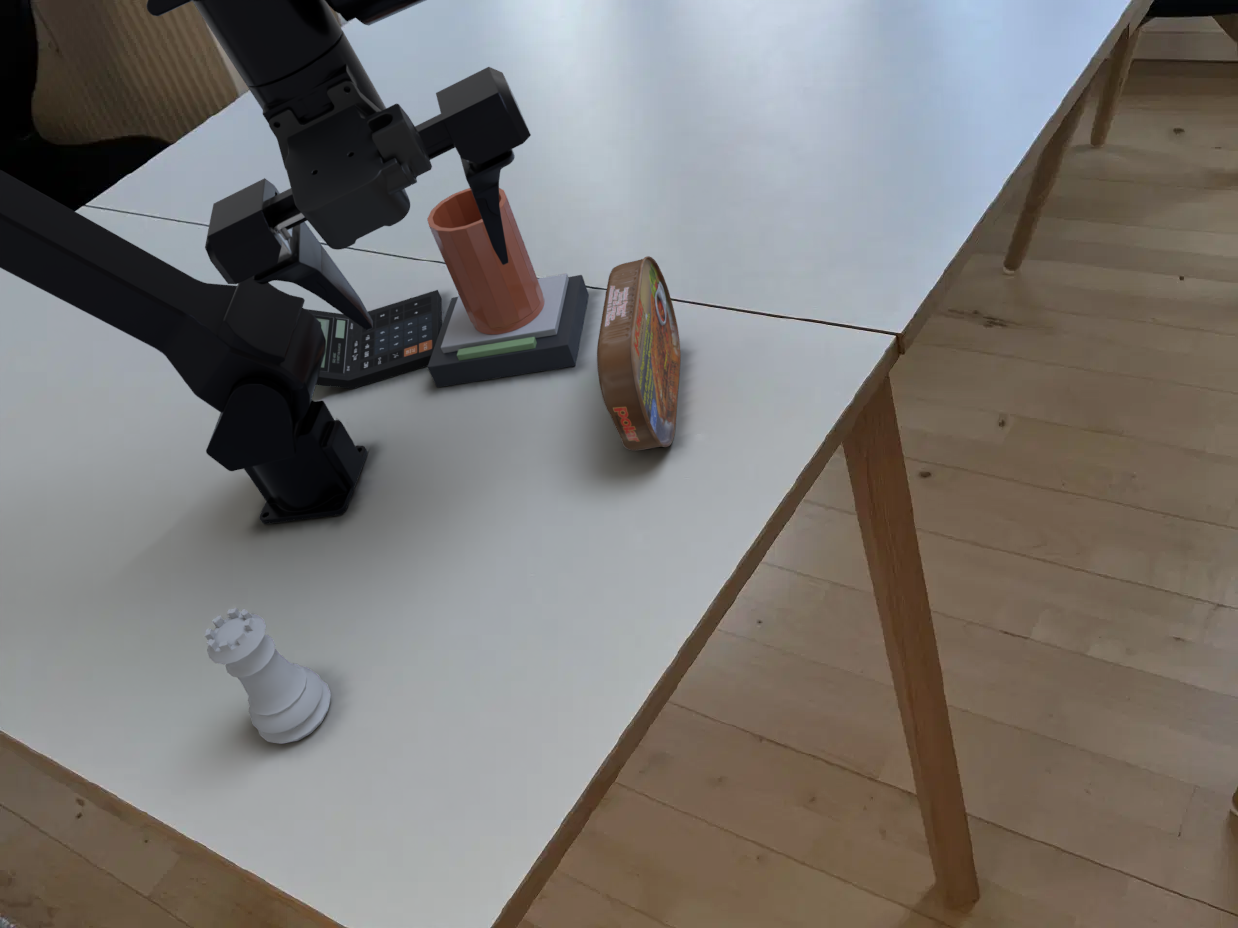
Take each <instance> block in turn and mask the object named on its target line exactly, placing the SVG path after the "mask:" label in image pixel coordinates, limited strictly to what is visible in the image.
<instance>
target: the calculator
mask: <svg viewBox="0 0 1238 928" xmlns="http://www.w3.org/2000/svg"><path fill="white" fill-rule="evenodd" d="M442 303H443V302H442V296H441V294H440V292H439V289H436V290H433V291H429V292H426V293H423V294H419V295H417V296H414V297H410V298H407V299H404V300H400V301H396V302H394V303H390V304H387V305H384V306H382V307H381V306H380V307H377V308H375V309H371V310H367V311H368V313H369V315H370V317H371V319H372V321H373V328H372V329H370V330H365V329H364V328H363V327H361V326H360V325H358V324H357V323H355V322H354V321H353V320H351V319H350V318H348V317H347V316H345V315H344V314H343V313H338V312H331V311H323V310H317V309H316V310H315V309H307V308H305V309H306V310H307V311H309V312H310V313H311V314H312V315H314V316H315V317H316V318H317V320H318V321H319V322H320V323H321V325H322V326H321V329H322V331H323V333H324V336H325V339H326V352H325V355H324V359H323V362H322V365H321V369H320V372H319V376H318V379H317V383H316V386H321V387H330V388H342V389H349V390H350V389H352V390H355V389H358V388H360V387H363V386H367V385H371V384H373V383H376V382H380V381H383V380H386V379H389V378H393V377H396V376H399V375H403V374H407V373H409V372H412V371H413V372H414V371H415V370H419V369H423V368H425V367H428V364H429V361H430V358H431V356H432V353H433V350H434V347H435V344H436V341H437V338H438V336H439V333H440V330H441V327H442V324H443V309H442V308H443V305H442Z"/></svg>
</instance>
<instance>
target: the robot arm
mask: <svg viewBox="0 0 1238 928" xmlns="http://www.w3.org/2000/svg"><path fill="white" fill-rule="evenodd" d="M426 1H427V0H147V2H146V5H145V6H146V11H147V12H148V13H149V14H150V15H151V16H154V17H161V16H163V15H165V14H167V13H170V12H171V11H173V10H176V9H178V8H180V7H182V6H184V5H187V4H188V3H191V2H192V3H193V5H194V6H195V8H196V10H197V11H198V12H199V14H200V15H201V17H202V19H203V20H204V22H205V23H206V25H207V26H208V29H210V31H211V32H212V34H213V35H214V36H213V37H215V39H216V40H217V42H218V44H219V45H220V47H221V48H222V50H223V51H224V53H225V55H226V56H227V57H228V59H229V60H230V62H231V63H232V65H233V66H234V68H235V70H236V71H237V73H238V74H239V76H240V77H241V79H242V81H243V82H244V83H245V85H246V86H247V89H248V90H249V91H250V93H251V94H252V96H253V97H254V99H255V101H256V102H257V104H258V105H259V107H260V108H261V110H262V116H263V117H264V119H265V120H266V122H267V124H268V127H269V128H270V131H271V132H272V133H273V135H274V136H275V138H276V141H277V144H278V148H279V152H280V155H281V158H282V164H283V167H284V169H285V171H286V174H287V178H288V182H289V185H290V188H288V189H286V190H283V191H282V192H280V191H279V190H278V189H277V187H276V186H275V184H274V183H272V182H271V181H270V180H268V179H267V178H265V177H264V178H262V179H260V180H258V181H256V182H254V183H252V184H250V185H248V186H245V187H244V188H242V189H240V190H238V191H236V192H234V193H231V194H230V195H228V196H226V197H224V198H222V199H220V200H218V201H215V202H213V205H212V209H211V215H210V218H209V224H208V229H207V234H206V239H205V240H206V241H205V245H204V249H205V251H206V254H207V256H208V258H209V261H210V262H211V264H212V265H213V266H214V268H215V269H216V270H217V271H218V273H219V274H220V276H221V277H222V279H224V281H225V282H226V284H221V283H220V284H219V283H207V282H204V281H202V280H199V279H197V278H194V277H193V276H191V275H190V274H187V273H185V272H184V271H182V270H180V269H179V268H176V267H175V266H173V265H171V264H170V263H168V262H166V261H164V260H162V259H161V258H158V257H157V256H156V255H153V254H152V253H150V252H148V251H147V250H144V249H143V248H141V247H139V246H138V245H136V244H134V243H132V242H130V241H129V240H127V239H125V238H123V237H121V236H120V235H117V234H116V233H115V232H112V231H111V230H109V229H107V228H106V227H103V226H102V225H100V224H98V223H96V222H94V221H93V220H91V219H90V218H88V217H85V216H83V215H82V214H81V213H79V212H76V211H75V210H73V209H71V208H69V207H68V206H66V205H64V204H62V203H60V202H59V201H57V200H55V199H54V198H52V197H51V196H48V195H46V194H45V193H42V192H41V191H39V190H37V189H36V188H34V187H32V186H30V185H29V184H27V183H24V182H23V181H21V180H19V179H17V178H16V177H14V176H12V175H10V174H9V173H7V172H5V171H3V170H1V169H0V269H1V270H3V271H6V272H7V273H9V274H11V275H13V276H15V277H16V278H19V279H20V280H22V281H25V282H26V283H28V284H31V285H32V286H35V287H36V288H38V289H40V290H41V291H44V292H45V293H47V294H50V295H52V296H53V297H55V298H57V299H59V300H61V301H63V302H65V303H67V304H69V305H71V306H72V307H75V308H76V309H78V310H81V312H84V313H86V314H88V315H90V316H91V317H94V318H96V319H97V320H99V321H101V322H103V323H105V324H107V325H109V326H111V327H113V328H114V329H117V330H119V331H120V332H123V333H125V334H127V335H128V336H130V337H132V338H135V339H136V340H138V341H140V342H142V343H143V344H145V345H148V346H150V347H152V348H153V349H155V350H157V351H158V352H159V353H161V354H163V356H165V358H166V359H167V360H168V362H169V363H170V364H171V365H172V367H173V368H174V369H175V371H176V372H177V373H178V375H179V376H180V378H181V379H182V380H183V382H185V384H186V385H187V387H188V388H189V389H190V391H191V392H192V393H193V394H194V395H195V396H196V397H197V398H198V399H200V400H202V401H203V402H204V403H206V404H207V405H209V406H210V407H211V408H213V409H215V410H216V411H218V412H219V416H218V418H217V421H216V424H215V427H214V429H213V430H212V435H211V437H210V439H209V442H208V444H207V447H206V450H205V452H206V454H207V455H208V456H209V457H210V458H211V459H213V460H214V461H215V462H217V464H219V465H220V466H222V467H223V468H224V469H226V470H227V471H228V472H236V471H240V470H244V472H245V473H246V475H247V476H248V477H249V478H250V481H251V482H252V483H253V485H254V486H255V487H256V489H257V490H258V492H259V494H261V496H262V498H263V499H264V501H265V503H264V504H263V507H262V509H261V511H260V513H259V516H258V519H259V521H260V522H261V523H262V524H263V525H270V524H271V525H272V524H277V523H278V524H279V523H285V522H286V523H287V522H293V521H301V520H302V521H303V520H309V519H310V520H311V519H316V518H326V517H332V516H339V515H342V514H344V513H345V512H346V511H347V509H348V507H349V503H350V501H351V499H352V496H353V493H354V490H355V487H356V485H357V483H358V480H359V477H360V475H361V472H362V469H363V467H364V464H365V461H366V459H367V456H368V454H369V452H368V450H367V448H366V446H365V445H355V442H354V441H353V439H352V437H351V436H350V434H349V432H348V430H347V429H346V428H345V426H344V424H343V422H342V421H341V420H340V419H335V418H334V417H333V415H332V413H331V411H330V410H329V408H328V406H327V404H326V403H325V401H324V400H315V401H314V400H313V396H314V392H315V390H316V386H317V385H316V383H317V379H318V376H319V372H320V369H321V365H322V362H323V359H324V355H325V352H326V339H325V336H324V333H323V331H322V329H321V326H322V325H321V323H320V322H319V321H318V320H317V318H316V317H315V316H314V315H312V314H311V313H310V312H309V311H307V310H306V309H307V308H304V304H305V301H306V300H305V298H304V297H301V296H297V295H292V294H289V293H287V292H284V291H283V290H280V289H278V288H277V287H275V286H274V285H273V284H271V283H270V282H274V281H279V282H285V283H292V284H295V285H297V286H299V287H301V288H302V289H304V290H306V291H308V292H310V293H312V294H313V295H315V296H316V297H318V298H320V299H321V300H323V301H324V302H325V303H327V304H329V306H331V307H332V308H334V309H336V310H337V311H338V312H340V314H344V315H345V316H347V317H348V318H350V319H351V320H353V321H354V322H355V323H357V324H358V325H360V326H361V327H363V328H364V329H365V330H370V329H372V328H373V321H372V319H371V317H370V315H369V313H368V311H369V310H368V309H367V308H366V305H365V304H364V302H363V300H362V299H361V297H360V295H359V294H358V293H357V292H356V290H355V289H354V287H353V286H352V285H351V283H350V282H349V281H348V279H347V278H346V277H345V275H344V273H342V271H341V269H340V268H339V267H338V266H337V264H336V262H335V261H334V260H333V259H332V257H331V256H330V255H329V253H328V252H327V250H326V249H325V248H324V247H323V245H322V243H321V241H319V239H318V238H317V237H316V235H315V234H314V232H313V231H312V230H311V229H310V227H309V225H308V224H307V223H306V222H308V223H309V224H310V226H311V227H312V228H313V229H314V230H315V232H316V233H317V234H318V235H319V237H320V238H321V239H322V240H323V241H324V242H325V244H326V245H327V246H328V247H329V248H330V249H332V250H336V251H338V250H344V249H347V248H349V247H351V246H353V245H355V244H356V241H357V240H359V239H361V238H363V237H365V236H367V235H368V234H370V233H372V232H374V231H377V230H379V229H381V228H383V227H392V226H394V225H396V224H398V223H400V222H401V221H403V219H405V218H406V216H407V215H408V214H409V212H410V209H411V201H410V198H409V195H408V193H407V191H406V189H407V188H409V187H410V186H412V185H415V184H417V183H418V179H417V178H418V177H419V176H421V175H423V174H425V173H427V172H429V171H431V170H432V169H433V165H432V163H431V160H433V159H435V158H437V157H439V156H442V155H443V154H445V153H447V152H449V151H451V150H454V149H455V150H456V152H457V154H458V155H459V158H460V162H461V165H462V168H463V173H464V177H465V179H466V182H467V185H468V186H469V187H468V188H470V189H471V191H472V193H473V196H474V199H475V201H476V204H477V207H478V209H479V212H480V215H481V217H482V220H483V223H484V225H485V228H486V231H487V233H488V236H489V239H490V241H491V244H492V247H493V249H494V251H495V252H496V254H497V256H498V258H499V259H500V261H501V263H502V264H503V265H505V264H507V263H508V262H509V261H508V255H507V249H506V243H505V237H504V231H503V225H502V219H501V212H500V205H499V188H500V177H501V171H502V169H503V168H505V167H507V166H509V165H511V164H512V163H513V162H514V161H515V157H516V156H515V155H516V154H515V152H514V150H513V149H515V148H517V147H519V146H521V145H523V144H524V143H525V142H526V141H527V140H529V138H530V137H531V136H532V135H531V132H530V130H529V127H528V125H527V123H526V120H525V117H524V115H523V113H522V111H521V108H520V105H519V103H518V102H517V99H516V97H515V95H514V93H513V91H512V88H511V87H510V85H509V83H508V81H507V79H506V77H505V75H504V72H502V71H500V70H497V69H496V68H493V67H491V66H486V67H485V68H483V69H481V70H479V71H477V72H476V73H473V74H471V75H468V76H467V77H465V78H463V79H461V80H459V81H456V82H455V83H453V84H451V85H449V86H446V87H445V88H443V89H441V90H439V91H437V92H435V95H436V96H435V97H436V100H437V103H438V107H439V111H440V113H439V114H437V115H435V116H433V117H431V118H429V119H426V120H425V121H423V122H421V123H419V124H417V125H415V124H414V122H413V121H412V119H411V118H410V116H409V115H408V114H407V112H406V111H405V110H404V109H403V108H402V106H401V105H400V104H399V103H395V104H392V105H390V106H388V107H387V106H386V104H385V103H384V101H383V100H382V98H381V96H380V94H379V92H378V91H377V89H376V87H375V85H374V83H373V81H372V80H371V78H370V76H369V74H368V73H367V70H366V69H365V68H364V65H363V64H362V61H360V58H359V57H358V55H357V53H356V51H355V50H354V48H353V46H352V45H351V42H350V41H349V39H348V37H347V36H346V34H345V32H344V30H343V28H342V27H341V25H340V23H339V21H338V20H337V18H336V16H335V15H334V13H333V11H334V12H335V13H336V14H339V15H340V17H342V19H344V21H345V22H349V21H351V20H355V19H356V20H358V21H359V22H360V23H361V24H362V25H364V26H371V25H373V24H376V23H378V22H380V21H383V20H386V19H387V18H389V17H391V16H393V15H396V14H398V13H400V12H403V11H406V10H407V9H410V8H412V7H415V6H417V5H419V4H421V3H423V2H426ZM331 9H332V10H333V11H332V10H331Z"/></svg>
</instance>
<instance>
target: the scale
mask: <svg viewBox="0 0 1238 928" xmlns="http://www.w3.org/2000/svg"><path fill="white" fill-rule="evenodd" d="M537 279H538V282H539V285H540V287H541V290H542V293H543V296H544V299H545V303H544V307H543V309H542V311H541V312H540V314H539V315H538V316H537V317H536V318H535V319H534V320H532V321H531V322H530V323H528V324H527V325H525V326H523V327H521V328H519V329H517V330H514V331H511V332H508V333H503V334H495V335H491V334H484V333H481V332H479V331H477V330H476V329H475V328H474V327H473V325H472V323H471V321H470V319H469V317H468V314H467V312H466V310H465V307H464V305H463V303H462V301H461V298H460V296H459V295H458V296H454V297H451V299H450V301H449V304H448V307H447V310H446V313H445V316H444V319H443V320H442V327H441V330H440V333H439V336H438V338H437V341H436V344H435V347H434V350H433V353H432V356H431V358H430V361H429V364H428V366H427V370H428V372H429V374H430V376H431V378H432V380H433V382H434V385H435V386H436V388H442V387H443V388H444V387H449V386H455V385H461V384H468V383H475V382H480V381H481V382H482V381H487V380H494V379H500V378H507V377H513V376H520V375H525V374H531V373H532V374H533V373H538V372H544V371H545V372H546V371H551V370H558V369H563V368H570V367H575V366H576V364H577V360H578V359H577V358H578V354H579V350H580V343H581V338H582V334H583V327H584V323H585V317H586V312H587V308H588V307H587V306H588V301H589V296H590V294H589V291H588V289H587V286H586V282H585V279H584V277H583V274H577V275H573V276H568V273H561V274H555V275H549V276H544V277H539V278H538V277H537Z"/></svg>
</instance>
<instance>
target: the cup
mask: <svg viewBox="0 0 1238 928" xmlns="http://www.w3.org/2000/svg"><path fill="white" fill-rule="evenodd" d="M499 205H500V212H501V219H502V225H503V231H504V237H505V243H506V249H507V255H508V261H509V262H508V263H507V264H505V265H503V264H502V263H501V261H500V259H499V258H498V256H497V254H496V252H495V251H494V249H493V247H492V244H491V241H490V239H489V236H488V233H487V231H486V228H485V225H484V223H483V220H482V217H481V215H480V212H479V209H478V207H477V204H476V201H475V199H474V196H473V193H472V191H471V189H470V187H468V188H465V189H462V190H460V191H457V192H455V193H452V194H451V195H449V196H447V197H446V198H444V199H442V200H441V201H439V203H438V204H436V205H435V206H434V207H433V208H431V210H430V212H429V214H428V216H427V224H428V228H429V229H430V231H431V234H432V236H433V238H434V241H435V244H436V245H437V247H438V250H439V252H440V255H441V257H442V259H443V261H444V264H445V266H446V269H447V271H448V273H449V275H450V277H451V280H452V283H453V285H454V287H455V289H456V291H457V293H458V296H460V298H461V301H462V303H463V305H464V307H465V310H466V312H467V314H468V317H469V319H470V321H471V323H472V325H473V327H474V328H475V329H476V330H477V331H479V332H481V333H484V334H491V335H495V334H503V333H508V332H511V331H514V330H517V329H519V328H521V327H523V326H525V325H527V324H528V323H530V322H531V321H532V320H534V319H535V318H536V317H537V316H538V315H539V314H540V312H541V311H542V309H543V307H544V303H545V299H544V296H543V293H542V290H541V287H540V285H539V282H538V276H537V274H536V272H535V269H534V266H533V263H532V261H531V258H530V255H529V253H528V250H527V247H526V244H525V242H524V239H523V235H522V234H521V231H520V227H519V225H518V223H517V220H516V218H515V215H514V212H513V209H512V207H511V204H510V202H509V199H508V196H507V194H506V191H505V190H504V188H503V189H502V188H500V187H499Z"/></svg>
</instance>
